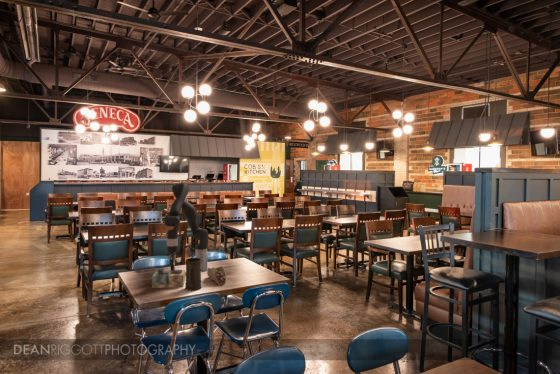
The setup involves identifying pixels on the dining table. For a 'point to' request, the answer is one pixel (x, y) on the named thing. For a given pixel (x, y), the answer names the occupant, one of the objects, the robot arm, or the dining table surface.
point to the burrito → (217, 275)
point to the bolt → (169, 270)
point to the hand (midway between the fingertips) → (172, 269)
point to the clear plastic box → (168, 279)
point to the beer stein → (193, 274)
